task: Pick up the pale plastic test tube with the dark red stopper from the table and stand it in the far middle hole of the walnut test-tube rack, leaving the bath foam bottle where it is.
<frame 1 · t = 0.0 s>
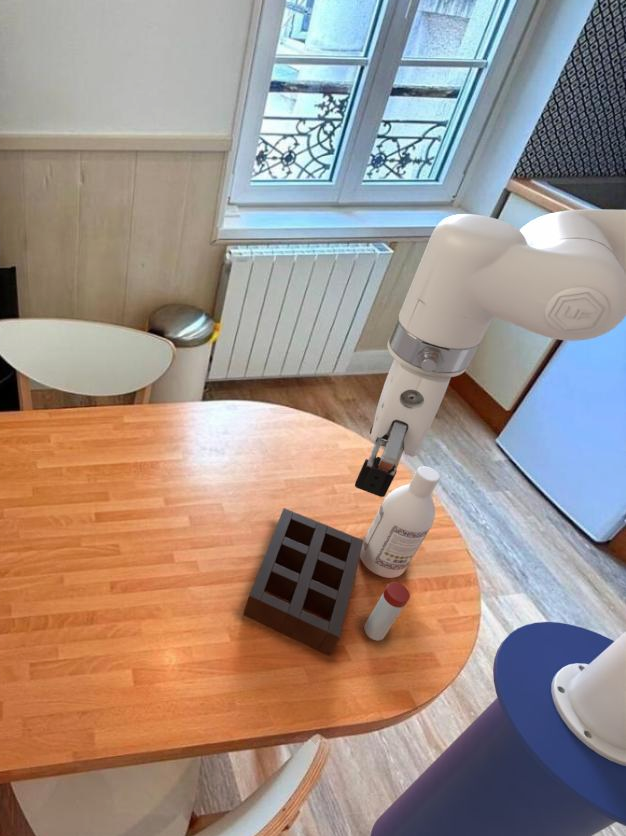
hand: (376, 462, 71), 30 cm above the table, tool pointing down, fingers open, 9 cm apart
bath foam: (380, 560, 96), on the table
test tube: (374, 631, 86), on the table
rack: (300, 586, 91), on the table
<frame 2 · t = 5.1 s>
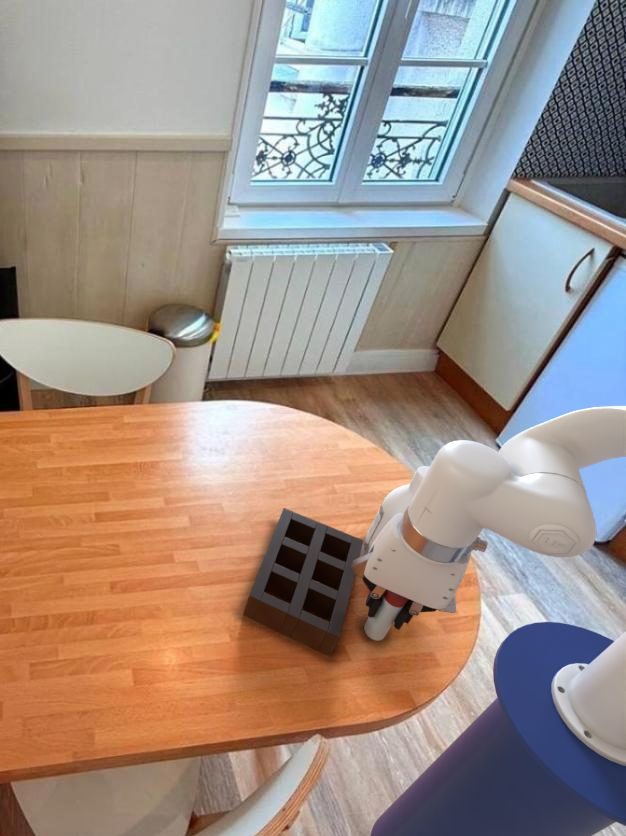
hand: (384, 613, 83), 5 cm above the table, tool pointing down, fingers closed on test tube, 2 cm apart
test tube: (374, 631, 86), on the table, touching gripper
everything else where it was.
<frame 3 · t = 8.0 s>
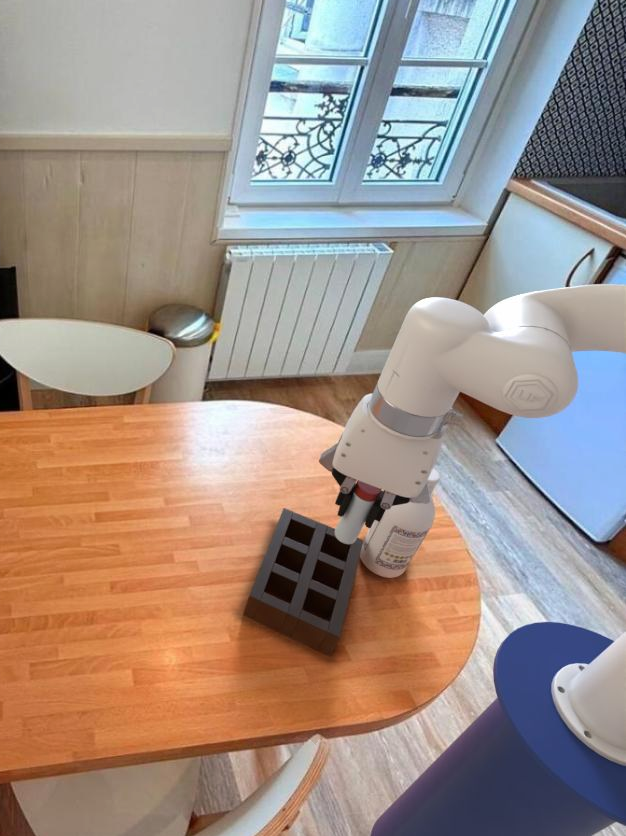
hand: (355, 513, 78), 20 cm above the table, tool pointing down, fingers closed on test tube, 2 cm apart
test tube: (345, 535, 81), point 15 cm above the table, touching gripper
everything else where it was.
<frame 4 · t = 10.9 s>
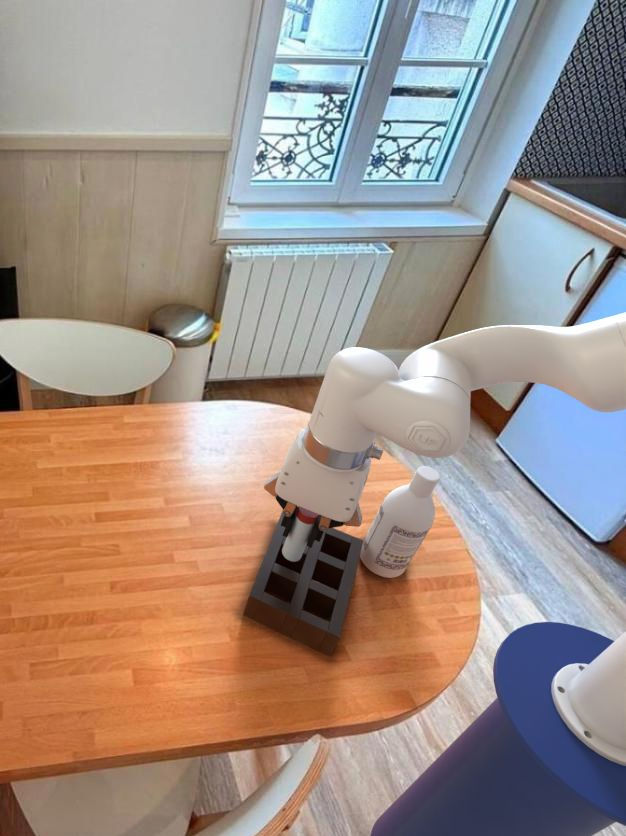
hand: (299, 533, 86), 11 cm above the table, tool pointing down, fingers closed on test tube, 2 cm apart
test tube: (291, 553, 89), point 6 cm above the table, touching gripper
everything else where it was.
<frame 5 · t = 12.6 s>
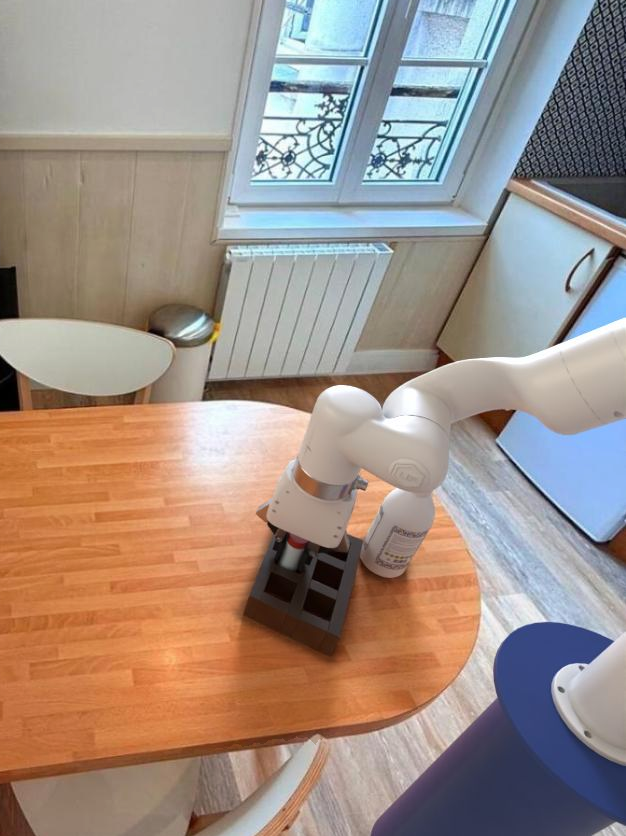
hand: (290, 557, 89), 5 cm above the table, tool pointing down, fingers closed on test tube, 2 cm apart
test tube: (283, 575, 92), point 1 cm above the table, touching gripper
everything else where it was.
when the fingers open (6 cm above the table, at t = 16.8 s): test tube drops 2 cm, resting in rack.
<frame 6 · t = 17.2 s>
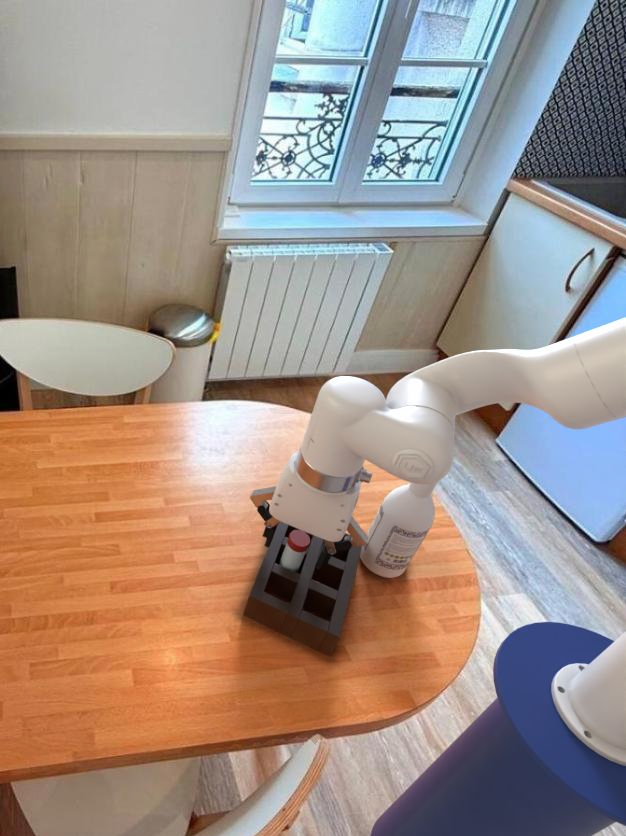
hand: (294, 550, 88), 7 cm above the table, tool pointing down, fingers open, 6 cm apart
test tube: (284, 578, 92), resting in rack
everything else where it was.
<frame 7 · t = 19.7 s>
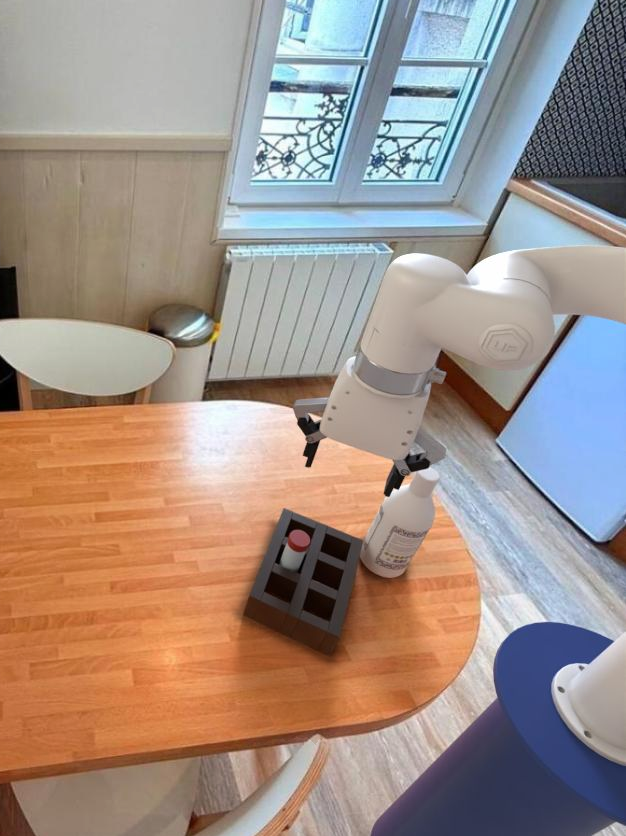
hand: (348, 474, 77), 24 cm above the table, tool pointing down, fingers open, 9 cm apart
nothing on the table moved.
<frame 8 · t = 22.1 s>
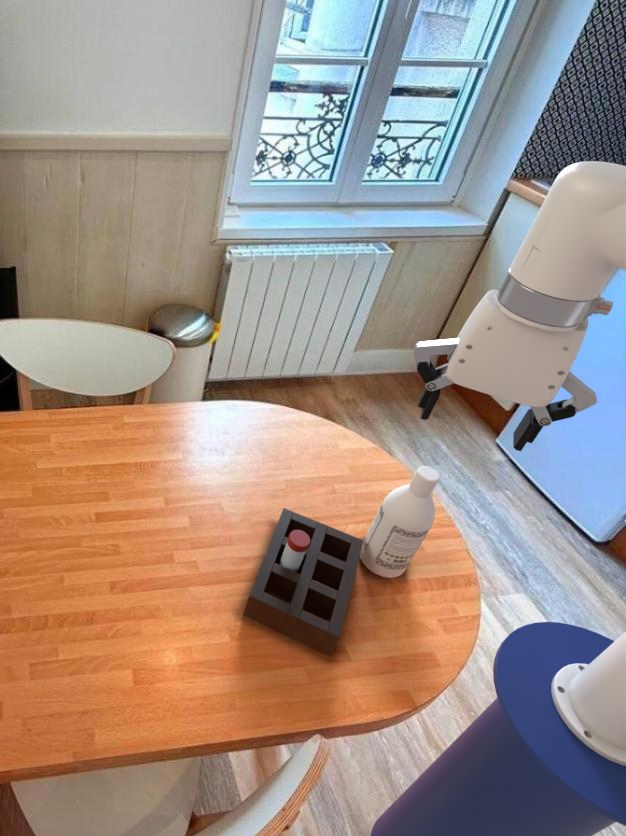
hand: (469, 427, 69), 34 cm above the table, tool pointing down, fingers open, 9 cm apart
nothing on the table moved.
at the end: test tube 0.1 cm from the target spot in the rack, point 0.0 cm above the rack's base; test tube tilted 0°; the gripper is holding nothing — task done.
